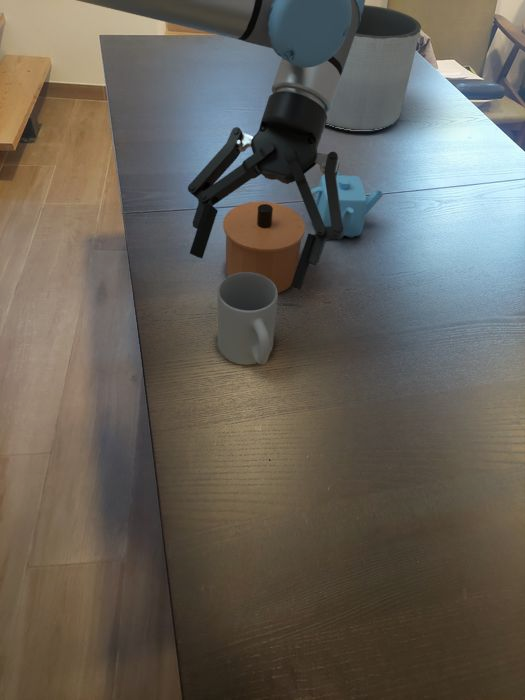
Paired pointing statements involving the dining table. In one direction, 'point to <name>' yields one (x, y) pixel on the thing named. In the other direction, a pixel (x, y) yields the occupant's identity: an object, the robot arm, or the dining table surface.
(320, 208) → the teapot
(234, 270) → the pot
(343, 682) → the dining table surface
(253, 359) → the mug
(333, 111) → the planter
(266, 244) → the pot lid
